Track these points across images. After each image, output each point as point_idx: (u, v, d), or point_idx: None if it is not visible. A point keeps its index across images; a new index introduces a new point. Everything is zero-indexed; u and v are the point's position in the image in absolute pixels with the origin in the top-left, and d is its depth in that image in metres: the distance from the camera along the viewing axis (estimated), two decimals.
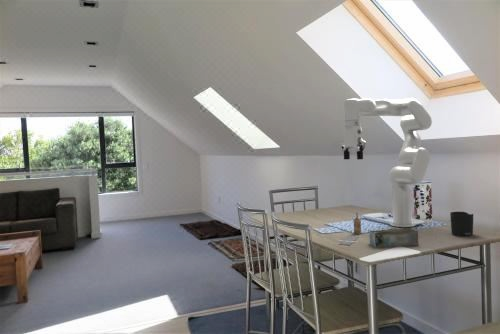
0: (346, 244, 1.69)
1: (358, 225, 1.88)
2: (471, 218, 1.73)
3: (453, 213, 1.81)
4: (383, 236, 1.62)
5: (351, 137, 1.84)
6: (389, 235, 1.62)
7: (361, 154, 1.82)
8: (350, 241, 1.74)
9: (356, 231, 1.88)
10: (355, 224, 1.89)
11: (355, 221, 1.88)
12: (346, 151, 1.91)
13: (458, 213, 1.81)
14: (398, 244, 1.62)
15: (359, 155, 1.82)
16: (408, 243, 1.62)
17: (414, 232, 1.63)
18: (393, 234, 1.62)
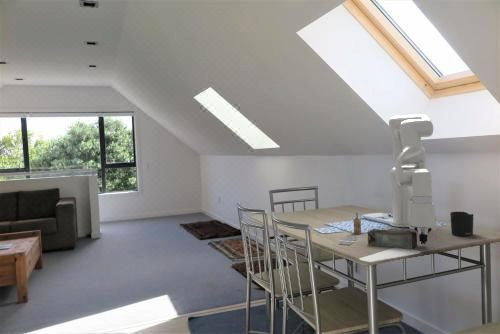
0: (346, 244, 1.69)
1: (358, 225, 1.88)
2: (471, 218, 1.73)
3: (453, 213, 1.81)
4: (376, 235, 1.65)
5: None
6: (381, 235, 1.64)
7: (419, 237, 1.61)
8: (350, 241, 1.74)
9: (356, 231, 1.88)
10: (355, 224, 1.89)
11: (355, 221, 1.88)
12: None
13: (458, 213, 1.81)
14: (390, 245, 1.62)
15: None
16: (401, 245, 1.59)
17: (408, 235, 1.57)
18: (385, 234, 1.63)
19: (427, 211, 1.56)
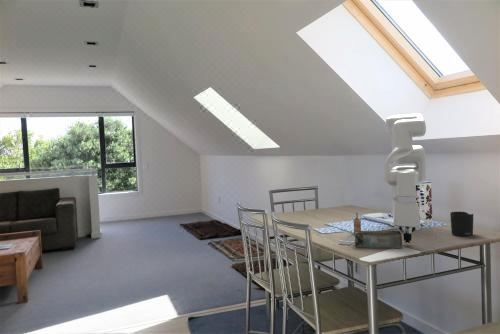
0: (346, 244, 1.69)
1: (358, 225, 1.88)
2: (471, 218, 1.73)
3: (453, 213, 1.81)
4: (363, 237, 1.63)
5: None
6: (369, 236, 1.62)
7: None
8: (350, 241, 1.74)
9: None
10: (355, 224, 1.89)
11: (355, 221, 1.88)
12: (408, 232, 1.63)
13: (458, 213, 1.81)
14: (379, 246, 1.61)
15: None
16: (390, 246, 1.60)
17: (397, 235, 1.59)
18: (374, 235, 1.62)
19: (411, 211, 1.59)
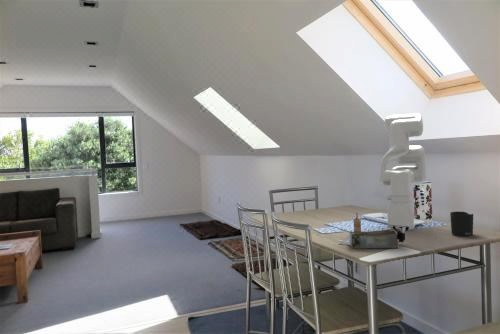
0: (346, 244, 1.69)
1: (358, 225, 1.88)
2: (471, 218, 1.73)
3: (453, 213, 1.81)
4: (360, 238, 1.61)
5: None
6: (366, 237, 1.61)
7: None
8: None
9: (356, 231, 1.88)
10: (355, 224, 1.89)
11: (355, 221, 1.88)
12: (401, 232, 1.65)
13: (458, 213, 1.81)
14: (376, 246, 1.60)
15: None
16: (386, 245, 1.59)
17: (393, 234, 1.59)
18: (370, 236, 1.60)
19: (404, 210, 1.61)
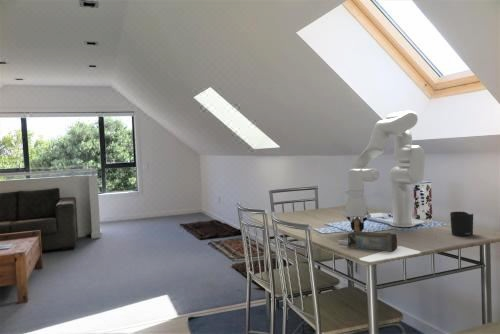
0: (346, 244, 1.69)
1: (358, 225, 1.88)
2: (471, 217, 1.73)
3: (453, 213, 1.81)
4: (356, 237, 1.63)
5: None
6: (361, 237, 1.62)
7: None
8: None
9: None
10: (355, 224, 1.89)
11: (355, 221, 1.88)
12: None
13: (458, 213, 1.81)
14: (370, 247, 1.59)
15: None
16: (381, 248, 1.57)
17: (388, 237, 1.55)
18: (365, 236, 1.60)
19: (359, 203, 1.86)
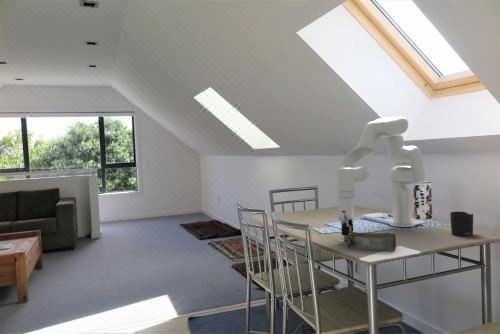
0: (346, 244, 1.69)
1: None
2: (471, 217, 1.73)
3: (453, 213, 1.81)
4: (356, 238, 1.61)
5: (353, 208, 1.74)
6: (361, 238, 1.60)
7: None
8: None
9: None
10: None
11: None
12: None
13: (458, 213, 1.81)
14: (371, 248, 1.58)
15: None
16: (382, 248, 1.56)
17: (389, 237, 1.55)
18: (366, 237, 1.59)
19: None
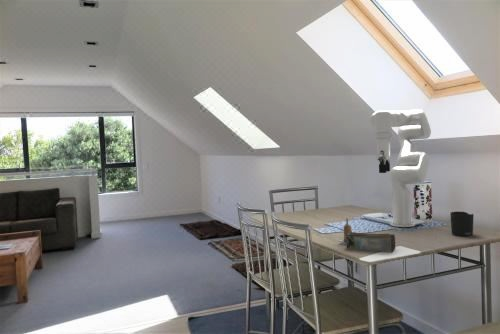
0: None
1: (344, 232, 1.74)
2: (471, 218, 1.73)
3: (453, 213, 1.81)
4: (354, 239, 1.61)
5: (389, 149, 1.84)
6: (360, 238, 1.59)
7: None
8: None
9: None
10: None
11: None
12: None
13: (458, 213, 1.81)
14: (369, 248, 1.58)
15: None
16: (380, 249, 1.56)
17: (387, 238, 1.54)
18: (364, 238, 1.58)
19: None
